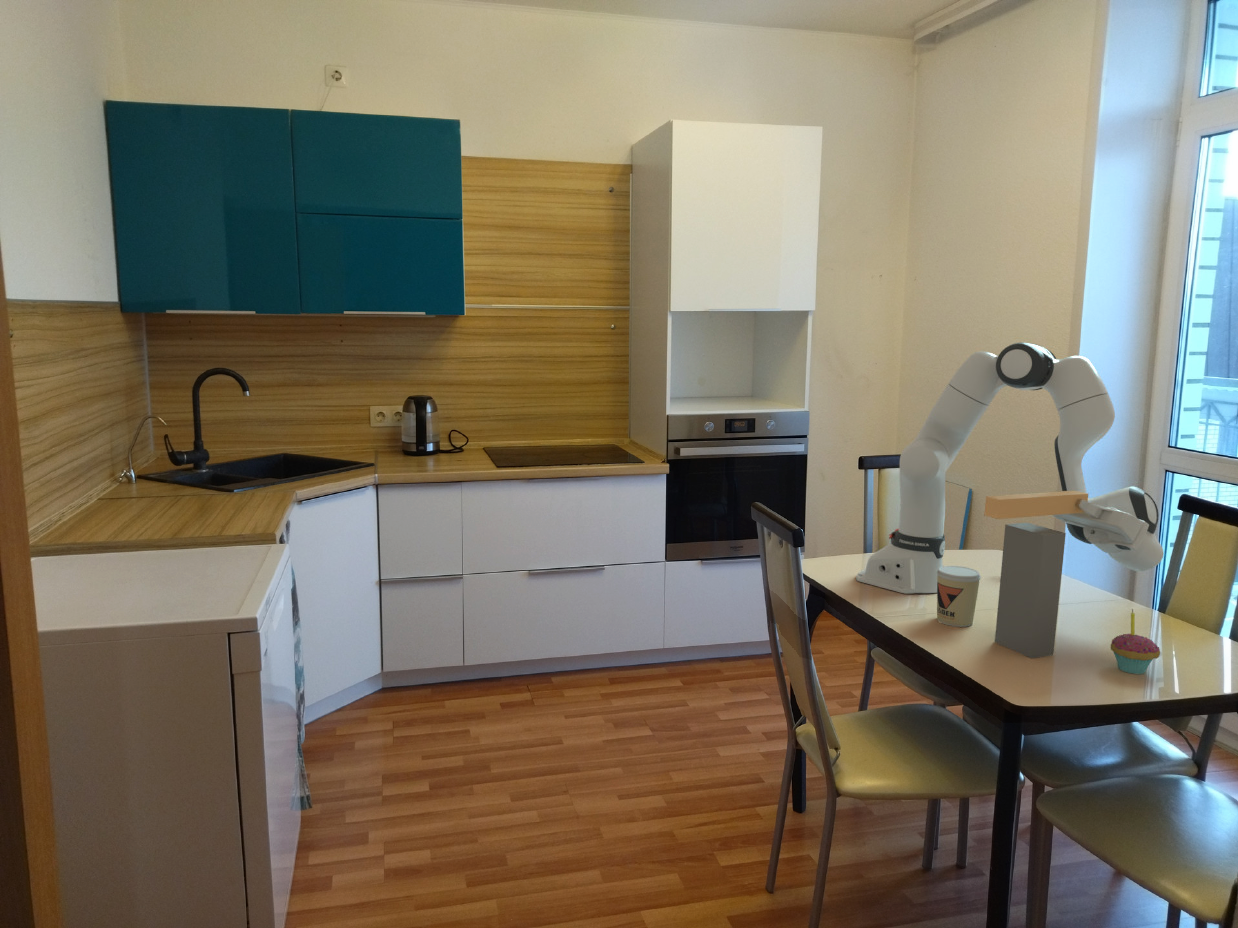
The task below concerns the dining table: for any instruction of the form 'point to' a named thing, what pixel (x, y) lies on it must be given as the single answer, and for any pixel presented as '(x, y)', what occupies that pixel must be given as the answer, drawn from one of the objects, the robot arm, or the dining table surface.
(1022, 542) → the stand
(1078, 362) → the robot arm
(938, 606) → the coffee cup
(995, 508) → the bar
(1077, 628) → the dining table surface
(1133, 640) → the cupcake
